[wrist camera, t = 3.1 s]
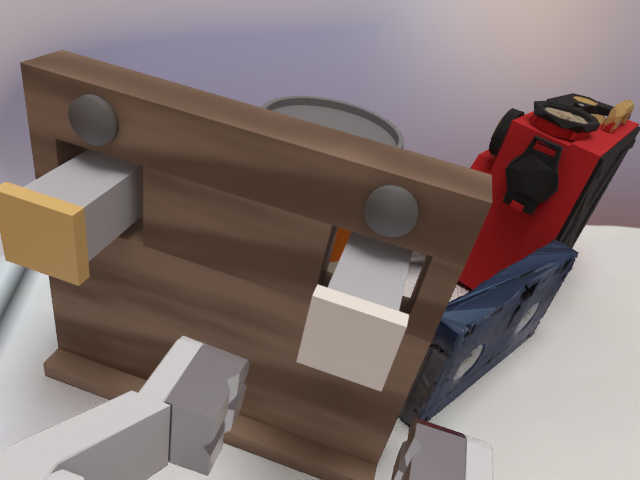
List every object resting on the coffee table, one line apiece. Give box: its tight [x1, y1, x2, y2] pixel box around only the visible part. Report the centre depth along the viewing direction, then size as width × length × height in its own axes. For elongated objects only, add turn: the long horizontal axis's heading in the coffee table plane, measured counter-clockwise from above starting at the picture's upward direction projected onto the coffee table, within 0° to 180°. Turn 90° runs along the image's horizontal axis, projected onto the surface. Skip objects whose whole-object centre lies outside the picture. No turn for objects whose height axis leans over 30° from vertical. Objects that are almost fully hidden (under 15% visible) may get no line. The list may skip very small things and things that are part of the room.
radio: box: [458, 93, 640, 290], centre depth 51 cm, size 16×10×20 cm, turn 139°
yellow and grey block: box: [0, 149, 143, 286], centre depth 27 cm, size 7×4×4 cm, turn 164°
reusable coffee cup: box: [261, 96, 404, 273], centre depth 46 cm, size 13×12×15 cm
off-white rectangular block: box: [296, 232, 412, 391], centre depth 25 cm, size 7×4×4 cm, turn 164°
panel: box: [20, 50, 492, 480], centre depth 31 cm, size 6×23×21 cm, turn 74°
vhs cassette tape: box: [399, 239, 578, 426], centre depth 41 cm, size 18×3×10 cm, turn 131°
